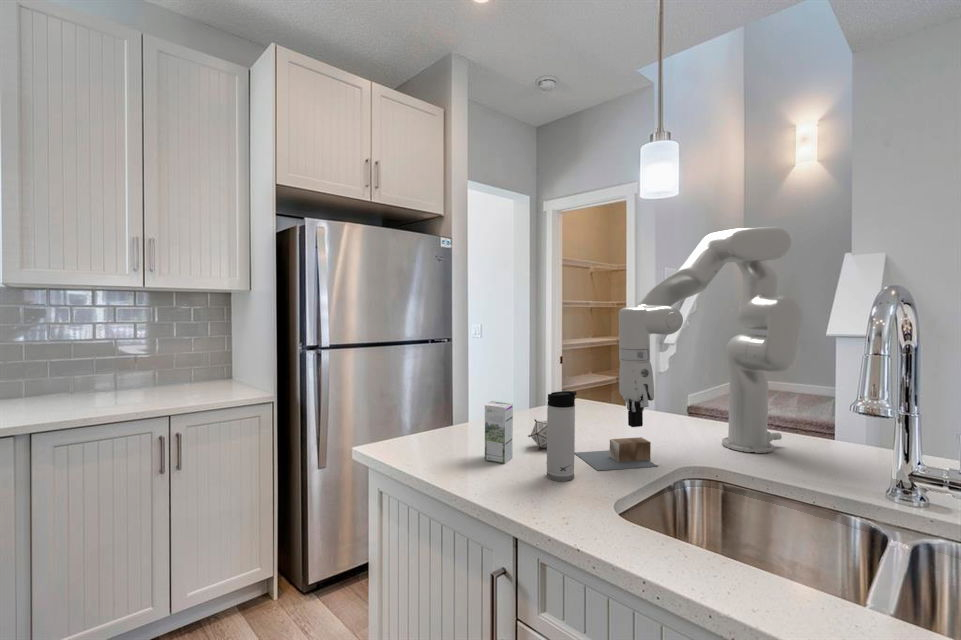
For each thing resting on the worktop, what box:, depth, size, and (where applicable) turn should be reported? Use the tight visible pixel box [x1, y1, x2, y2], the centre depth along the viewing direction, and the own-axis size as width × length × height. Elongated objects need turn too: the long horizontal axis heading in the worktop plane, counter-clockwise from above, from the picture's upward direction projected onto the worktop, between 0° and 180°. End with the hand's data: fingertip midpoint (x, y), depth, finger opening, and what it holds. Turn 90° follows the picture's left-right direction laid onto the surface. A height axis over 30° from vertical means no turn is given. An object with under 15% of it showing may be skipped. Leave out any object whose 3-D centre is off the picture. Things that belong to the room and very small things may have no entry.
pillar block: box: [609, 436, 652, 462], centre depth 126 cm, size 4×4×9 cm
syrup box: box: [484, 400, 514, 464], centre depth 125 cm, size 6×6×14 cm
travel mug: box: [546, 390, 577, 482], centre depth 112 cm, size 6×7×20 cm
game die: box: [527, 418, 547, 451], centre depth 135 cm, size 9×8×10 cm
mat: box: [574, 449, 659, 472], centre depth 125 cm, size 16×14×1 cm
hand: (635, 425), depth 126 cm, fingers closed
